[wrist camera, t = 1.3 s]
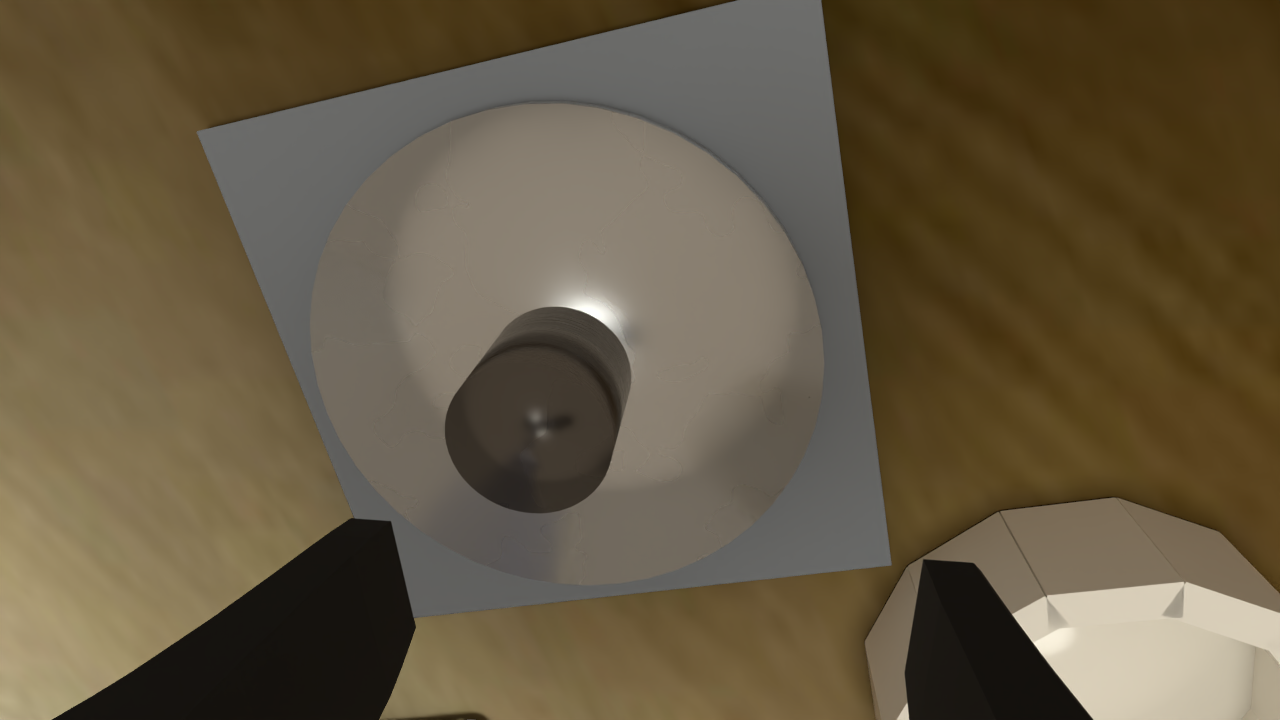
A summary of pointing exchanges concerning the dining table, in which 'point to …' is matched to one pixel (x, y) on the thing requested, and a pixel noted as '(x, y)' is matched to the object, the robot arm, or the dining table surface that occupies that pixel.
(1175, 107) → the dining table surface
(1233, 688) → the cream dish
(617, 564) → the steel lid
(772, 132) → the slate mat
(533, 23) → the dining table surface
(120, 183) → the dining table surface
